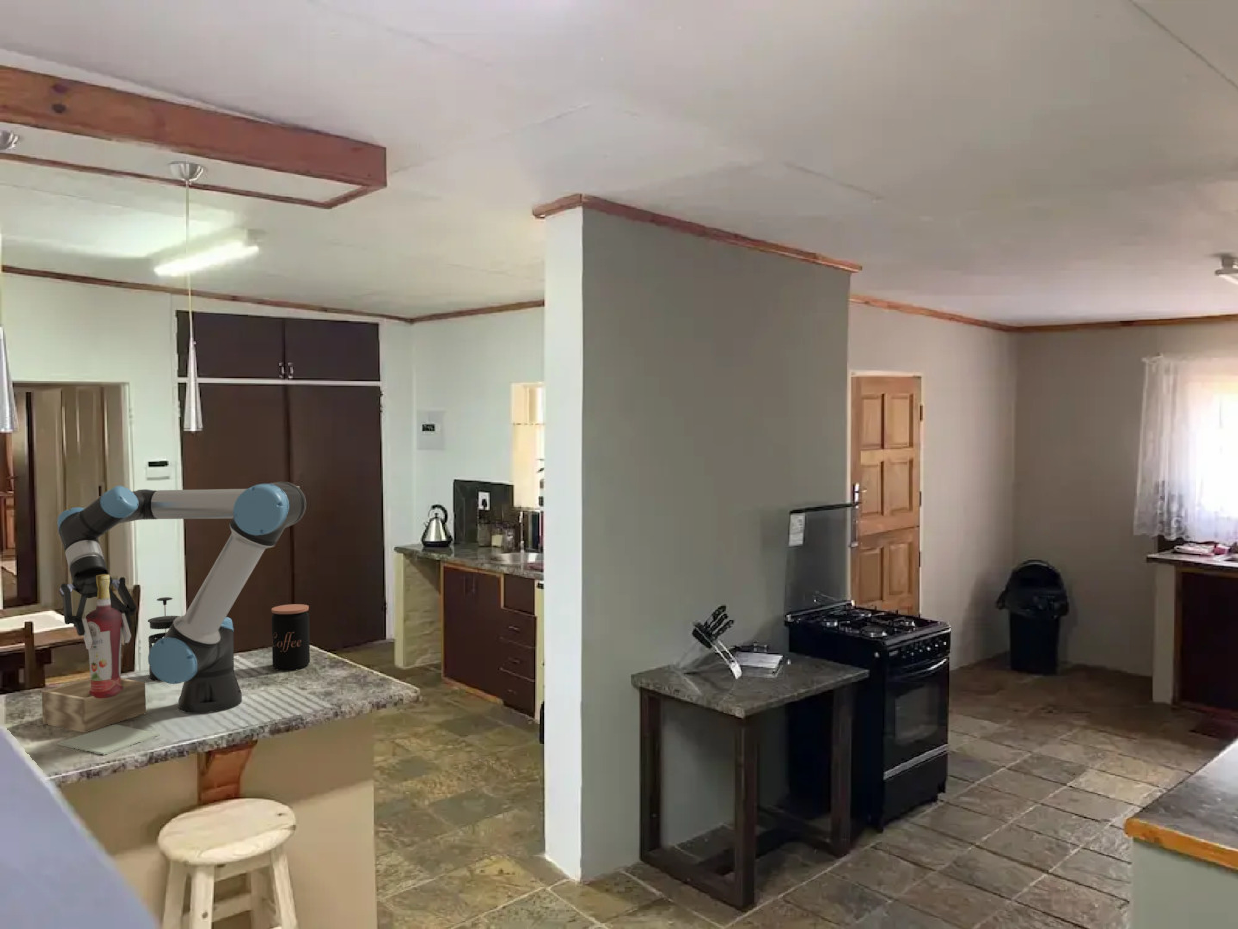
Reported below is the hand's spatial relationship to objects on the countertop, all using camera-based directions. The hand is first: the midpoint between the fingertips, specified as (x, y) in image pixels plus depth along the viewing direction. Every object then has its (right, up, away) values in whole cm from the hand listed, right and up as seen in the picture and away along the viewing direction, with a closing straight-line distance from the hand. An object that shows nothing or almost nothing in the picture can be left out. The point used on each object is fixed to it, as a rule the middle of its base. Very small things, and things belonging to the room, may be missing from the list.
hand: (109, 642), depth 208 cm
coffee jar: (+17, -21, +67) cm, 73 cm away
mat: (-2, -23, +3) cm, 24 cm away
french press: (-15, -21, +57) cm, 63 cm away
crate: (-14, -23, +19) cm, 33 cm away
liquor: (-2, -13, +3) cm, 14 cm away
